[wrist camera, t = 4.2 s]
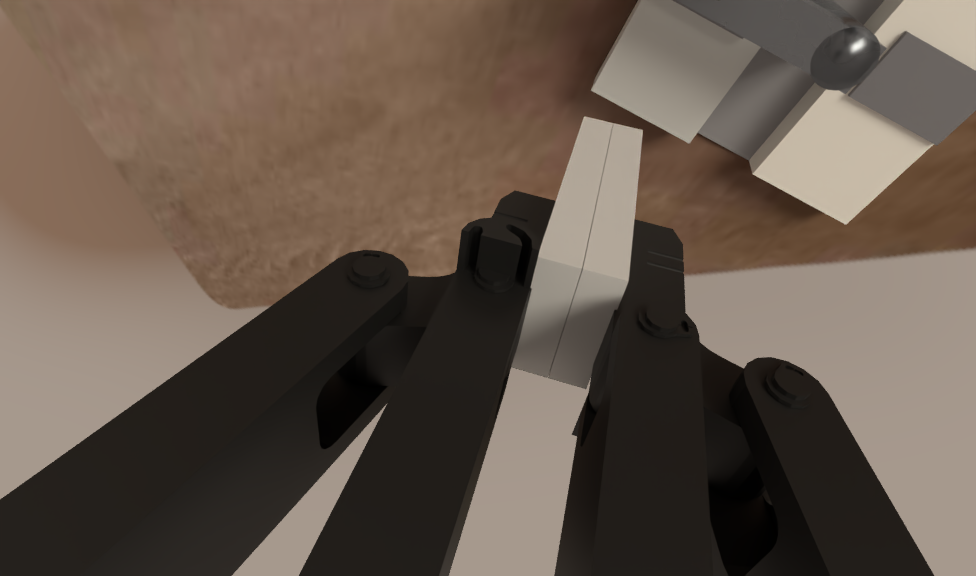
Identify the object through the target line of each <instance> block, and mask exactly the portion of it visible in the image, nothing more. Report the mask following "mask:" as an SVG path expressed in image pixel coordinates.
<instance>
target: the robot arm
mask: <svg viewBox="0 0 976 576" xmlns="http://www.w3.org/2000/svg"><path fill="white" fill-rule="evenodd" d="M612 126H613V127H612ZM642 135H643V130H640V129H636V128H632V127H627V126H623V125H619V124H615V123H614V124H613V123H610V122H606V121H602V120H598V119H594V118H589V117H585V116H584V118H583V121H582V124H581V127H580V130H579V133H578V136H577V139H576V142H575V145H574V148H573V151H572V154H571V157H570V160H569V163H568V166H567V169H566V172H565V175H564V178H563V181H562V184H561V187H560V190H559V193H558V196H557V199H556V201H554V200H550V199H546V198H542V197H538V196H534V195H530V194H526V193H522V192H519V191H514V192H512V193H510V194H509V195H507V196H505V197H504V198H502V199H501V200H500V202H499V204H498V206H497V208H496V210H495V212H494V214H493V216H492V218H483V219H478V220H475V221H473V222H470V223H468V224H467V225H466V226H465V227H464V228H463V229H462V232H461V239H460V247H459V255H458V263H457V270H456V271H455V273H453V274H450V275H446V276H441V277H417V276H408V269H407V268H406V266H405V264H404V263H403V262H402V261H401V260H399V259H398V258H397V257H395V256H394V255H391V254H388V253H385V252H381V251H372V250H362V251H356V252H351V253H348V254H346V255H344V256H342V257H340V258H338V259H336V260H335V261H334V262H332V263H331V264H329V265H328V266H327V267H325V268H324V269H322V270H321V271H320V272H318V273H317V274H315V275H314V276H313V277H311V278H310V279H308V280H307V281H306V282H304V283H303V284H301V285H300V286H299V287H297V288H296V289H294V290H293V291H292V292H290V293H289V294H287V295H286V296H285V297H283V298H282V299H280V300H279V301H278V302H276V303H275V304H273V305H272V306H271V307H269V308H268V309H266V310H265V311H264V312H262V313H261V314H260V315H258V316H257V317H255V318H254V319H252V320H251V321H250V322H249V323H247V324H246V325H244V326H243V327H241V328H240V329H238V330H237V331H236V332H234V333H233V334H231V335H230V336H229V337H227V338H226V339H225V340H223V341H222V342H220V343H219V344H218V345H216V346H215V347H213V348H212V349H210V350H209V351H208V352H206V353H205V354H204V355H202V356H201V357H199V358H198V359H196V360H195V361H194V362H192V363H191V364H190V365H188V366H187V367H185V368H184V369H182V370H181V371H180V372H178V373H177V374H175V375H174V376H173V377H171V378H170V379H168V380H167V381H166V382H164V383H163V384H162V385H160V386H159V387H157V388H156V389H155V390H153V391H152V392H150V393H149V394H147V395H146V396H145V397H143V398H142V399H140V400H139V401H138V402H136V403H135V404H133V405H132V406H131V407H129V408H128V409H127V410H125V411H124V412H122V413H121V414H119V415H118V416H117V417H115V418H114V419H112V420H111V421H110V422H108V423H107V424H105V425H104V426H103V427H101V428H100V429H99V430H97V431H96V432H94V433H93V434H91V435H90V436H89V437H87V438H86V439H85V440H83V441H82V442H80V443H79V444H77V445H76V446H75V447H73V448H72V449H71V450H69V451H68V452H66V453H65V454H63V455H62V456H61V457H59V458H58V459H57V460H55V461H54V462H52V463H51V464H49V465H48V466H47V467H45V468H44V469H43V470H41V471H40V472H38V473H37V474H36V475H34V476H33V477H32V478H30V479H29V480H27V481H26V482H24V483H23V484H22V485H20V486H19V487H17V488H16V489H14V490H13V491H12V492H10V493H9V494H7V495H6V496H5V497H3V498H2V499H0V576H232V575H233V573H234V572H235V571H236V570H237V569H238V568H239V567H240V566H241V565H242V564H243V562H244V561H245V560H246V559H247V558H248V557H249V556H250V555H251V554H252V552H253V551H254V550H255V549H256V548H257V547H258V546H259V545H260V544H261V542H262V541H263V540H264V539H265V538H266V537H267V536H268V535H269V534H270V532H271V531H272V530H273V529H274V528H275V527H276V526H277V525H278V523H280V521H281V520H282V519H283V518H284V517H285V516H286V515H287V514H288V512H289V511H290V510H291V509H292V508H293V507H294V506H295V505H296V504H297V503H298V501H299V500H300V499H301V498H302V497H303V496H304V495H305V494H306V493H307V491H308V490H309V489H310V488H311V487H312V486H313V485H314V484H315V483H316V482H317V480H318V479H319V478H320V477H321V476H322V475H323V474H324V473H325V472H326V470H327V469H328V468H329V467H330V466H331V465H332V464H333V463H334V462H335V460H336V459H337V458H338V457H339V456H340V455H341V454H342V453H343V452H344V451H345V449H346V448H347V447H348V446H349V445H350V444H351V443H352V442H353V440H354V439H355V438H356V437H357V436H358V435H359V434H360V433H361V431H363V429H364V428H365V427H366V426H367V425H368V424H369V423H370V422H371V421H372V419H373V418H374V417H375V416H376V415H377V414H378V413H379V412H380V410H382V408H383V407H384V406H385V405H386V404H387V405H386V407H385V409H384V411H383V413H382V415H381V417H380V419H379V421H378V423H377V425H376V427H375V429H374V431H373V433H372V435H371V436H370V438H369V440H368V442H367V444H366V446H365V448H364V450H363V452H362V454H361V456H360V458H359V460H358V462H357V464H356V466H355V468H354V470H353V471H352V473H351V475H350V477H349V479H348V481H347V483H346V485H345V487H344V489H343V491H342V493H341V495H340V497H339V499H338V501H337V503H336V505H335V506H334V508H333V510H332V512H331V514H330V516H329V518H328V520H327V522H326V524H325V526H324V528H323V530H322V532H321V534H320V535H319V537H318V539H317V541H316V543H315V545H314V547H313V549H312V551H311V553H310V555H309V557H308V559H307V561H306V563H305V565H304V567H303V569H302V570H301V572H300V574H299V576H449V573H450V569H451V566H452V563H453V560H454V556H455V553H456V550H457V546H458V543H459V540H460V537H461V533H462V530H463V526H464V524H465V520H466V517H467V513H468V510H469V507H470V504H471V501H472V497H473V494H474V491H475V487H476V484H477V481H478V477H479V474H480V471H481V468H482V464H483V461H484V458H485V455H486V451H487V448H488V444H489V441H490V438H491V435H492V431H493V428H494V425H495V422H496V418H497V415H498V412H499V409H500V405H501V402H502V399H503V395H504V392H505V389H506V385H507V381H508V376H509V373H510V369H511V367H513V368H516V369H519V370H523V371H526V372H530V373H533V374H537V375H540V376H543V377H548V375H549V377H548V378H550V379H554V380H557V381H560V382H564V383H567V384H571V385H574V386H577V387H581V388H585V389H586V388H587V385H588V383H589V380H590V378H591V382H590V388H589V393H588V396H587V398H586V401H585V403H584V406H583V408H582V411H581V413H580V416H579V418H578V421H577V423H576V426H575V428H574V431H573V433H572V435H575V436H577V442H576V448H575V454H574V460H573V466H572V472H571V478H570V484H569V490H568V496H567V502H566V509H565V514H564V521H563V527H562V533H561V540H560V545H559V552H558V557H557V563H556V569H555V575H554V576H934V575H933V573H932V571H931V569H930V568H929V566H928V564H927V562H926V561H925V559H924V557H923V555H922V554H921V552H920V550H919V549H918V547H917V545H916V544H915V542H914V540H913V538H912V537H911V535H910V533H909V531H908V530H907V528H906V526H905V525H904V523H903V521H902V519H901V518H900V516H899V514H898V512H897V511H896V509H895V507H894V506H893V504H892V502H891V500H890V499H889V497H888V495H887V494H886V492H885V490H884V488H883V487H882V485H881V483H880V481H879V480H878V478H877V476H876V475H875V473H874V471H873V469H872V468H871V466H870V464H869V463H868V461H867V459H866V457H865V456H864V454H863V452H862V451H861V449H860V447H859V445H858V444H857V442H856V440H855V438H854V437H853V435H852V433H851V432H850V430H849V428H848V427H847V425H846V423H845V422H844V420H843V418H842V416H841V414H840V413H839V411H838V409H837V408H836V406H835V404H834V402H833V401H832V399H831V397H830V396H829V394H828V393H827V391H826V390H825V389H824V388H823V386H822V385H821V384H820V383H819V381H818V380H816V379H815V378H814V377H813V376H811V375H810V374H809V373H807V372H806V371H805V370H804V369H802V368H800V367H798V366H796V365H794V364H791V363H790V362H787V361H784V360H780V359H776V358H772V357H767V358H756V359H754V360H753V361H751V362H749V363H747V365H746V366H745V368H744V369H743V368H741V367H739V366H738V365H736V364H733V363H731V362H730V361H728V360H726V359H724V358H722V357H720V356H718V355H717V354H715V353H713V352H712V351H710V350H709V349H707V348H706V347H705V346H704V345H702V344H701V343H700V342H699V334H698V331H697V328H696V325H695V324H694V322H693V321H692V320H691V319H690V318H689V317H688V315H687V314H686V313H685V290H684V274H683V272H684V263H683V244H682V242H681V241H680V239H679V238H678V236H677V235H676V233H675V232H674V230H673V229H670V228H666V227H662V226H658V225H655V224H651V223H647V222H643V221H639V220H635V208H636V198H637V187H638V177H639V166H640V156H641V145H642Z"/></svg>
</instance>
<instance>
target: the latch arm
mask: <svg viewBox="0 0 976 576" xmlns="http://www.w3.org/2000/svg"><path fill="white" fill-rule="evenodd" d="M677 1H679V2H681V3H682V4H684V5H686V6H688V7H690V8H691V9H693V10H695V11H697V12H699V13H700V14H702V15H704V16H706V17H708V18H709V19H711V20H713V21H715V22H717V23H718V24H720V25H722V26H724V27H726V28H727V29H729V30H731V31H733V32H735V33H736V34H738V35H740V36H742V37H744V38H745V39H747V40H749V41H751V42H753V43H754V44H756V45H758V46H760V47H762V48H763V49H765V50H767V51H769V52H771V53H772V54H774V55H776V56H778V57H779V58H781V59H783V60H785V61H787V62H788V63H790V64H792V65H794V66H796V67H797V68H799V69H801V70H803V71H805V72H806V73H808V74H810V76H811V77H812V79H813V80H814V81H815V83H816V84H817V85H819V86H820V87H822V88H824V89H827V90H835V91H837V90H839V91H841V92H842V93H844V94H846V93H847V92H848V91H849V90H850V89H851V88H852V87H853V86H855V85H857V84H859V83H860V82H862V81H863V80H864V79H866V78H867V77H868V76H869V75H870V74H871V72H872V71H873V70H874V68H875V67H876V65H877V63H878V60H879V57H880V56H881V54H882V53H883V52H884V51H885V50H886V49H887V48H886V47H885V46H884V45H883V44H882V43H880V42H879V41H878V39H877V37H876V36H875V35H874V34H873V33H872V32H871V31H870V30H868V29H867V28H866V27H865V26H864V25H862V24H861V23H860V22H859V21H858V20H856V19H855V18H854V17H853V16H852V15H850V14H849V13H848V12H847V11H846V10H844V9H843V8H842V7H841V6H840V5H838V4H837V3H836V2H835V1H833V0H677Z"/></svg>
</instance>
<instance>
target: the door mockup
mask: <svg viewBox="0 0 976 576" xmlns="http://www.w3.org/2000/svg"><path fill="white" fill-rule="evenodd" d="M833 1H835V2H836V3H837V4H838V5H840V6H841V7H842V8H843V9H844V10H846V11H847V12H848V13H849V14H850V15H852V16H853V17H854V18H855V19H856V20H858V21H859V22H860V23H861V24H862V25H864V26H865V27H866V28H867V29H868V30H870V31H871V32H872V33H873V34H874V35H875V36H876V37H877V39H878V41H879V42H880V43H882V44H883V45H884V46H885V47H886V48H887V49H886V50H885V51H884V52H883V53H882V54H881V56H880V57H879V60H878V63H877V65H876V67H875V68H874V70H873V71H872V72H871V74H870V75H869V76H868V77H867V78H866V79H864V80H863V81H862V82H860V83H859V84H857V85H855V86H853V87H852V88H851V89H850V90H849V91H848V92H847V93H846V94H844V93H842V92H841V91H839V90H837V91H835V90H827V89H824V88H822V87H820V86H819V85H817V84H816V83H815V81H814V80H813V79H812V77H811V76H810V74H808V73H806V72H805V71H803V70H801V69H799V68H797V67H796V66H794V65H792V64H790V63H788V62H787V61H785V60H783V59H781V58H779V57H778V56H776V55H774V54H772V53H771V52H769V51H767V50H765V49H763V48H762V47H760V46H758V45H756V44H754V43H753V42H751V41H749V40H747V39H745V38H744V37H742V36H740V35H738V34H736V33H735V32H733V31H731V30H729V29H727V28H726V27H724V26H722V25H720V24H718V23H717V22H715V21H713V20H711V19H709V18H708V17H706V16H704V15H702V14H700V13H699V12H697V11H695V10H693V9H691V8H690V7H688V6H686V5H684V4H682V3H681V2H679V1H677V0H638V1H637V3H636V5H635V7H634V8H633V10H632V12H631V14H630V16H629V17H628V19H627V21H626V23H625V25H624V26H623V28H622V30H621V32H620V34H619V35H618V37H617V39H616V41H615V43H614V44H613V46H612V48H611V50H610V52H609V53H608V55H607V57H606V59H605V61H604V62H603V64H602V66H601V68H600V70H599V71H598V73H597V75H596V77H595V80H594V83H593V86H592V89H591V91H593V92H595V93H597V94H598V95H600V96H602V97H604V98H606V99H608V100H610V101H611V102H613V103H615V104H617V105H619V106H621V107H622V108H624V109H626V110H628V111H630V112H632V113H634V114H635V115H637V116H639V117H641V118H643V119H645V120H647V121H648V122H650V123H652V124H654V125H656V126H658V127H660V128H661V129H663V130H665V131H667V132H669V133H671V134H673V135H674V136H676V137H678V138H680V139H682V140H684V141H685V142H687V143H690V142H691V141H692V139H693V138H694V137H695V135H696V134H697V133H699V134H701V135H703V136H705V137H706V138H708V139H710V140H712V141H714V142H716V143H717V144H719V145H721V146H723V147H725V148H727V149H729V150H730V151H732V152H734V153H736V154H738V155H740V156H741V157H743V158H745V159H747V160H749V163H750V167H751V171H752V174H753V175H755V176H757V177H759V178H760V179H762V180H764V181H766V182H768V183H770V184H772V185H773V186H775V187H777V188H779V189H781V190H783V191H784V192H786V193H788V194H790V195H792V196H794V197H796V198H797V199H799V200H801V201H803V202H805V203H807V204H809V205H810V206H812V207H814V208H816V209H818V210H820V211H821V212H823V213H825V214H827V215H829V216H831V217H833V218H834V219H836V220H838V221H840V222H842V223H844V224H847V223H848V222H849V221H850V220H851V219H853V218H854V217H855V216H856V215H857V214H858V213H859V212H860V211H861V210H862V209H863V208H865V207H866V206H867V205H868V204H869V203H870V202H871V201H872V200H873V199H874V198H875V197H877V196H878V195H879V194H880V193H881V192H882V191H883V190H884V189H885V188H886V187H887V186H889V185H890V184H891V183H892V182H893V181H894V180H895V179H896V178H897V177H898V176H899V175H901V174H902V173H903V172H904V171H905V170H906V169H907V168H908V167H909V166H910V165H911V164H913V163H914V162H915V161H916V160H917V159H918V158H919V157H920V156H921V155H922V154H923V153H925V152H926V151H927V150H928V149H929V148H930V147H931V146H932V145H933V144H935V145H938V144H939V143H940V142H942V141H943V140H944V139H945V138H946V137H947V136H948V135H949V134H950V133H951V132H953V131H954V130H955V129H956V128H957V127H958V126H959V125H960V124H961V123H962V122H963V121H965V120H966V119H967V118H968V117H969V116H970V115H971V114H972V113H973V112H974V111H976V0H833Z"/></svg>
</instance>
